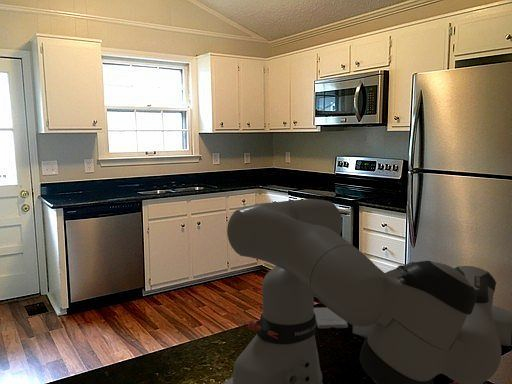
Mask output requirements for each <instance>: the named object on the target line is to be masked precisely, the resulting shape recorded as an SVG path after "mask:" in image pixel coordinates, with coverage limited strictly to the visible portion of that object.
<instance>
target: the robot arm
mask: <svg viewBox="0 0 512 384" xmlns="http://www.w3.org/2000/svg"><path fill="white" fill-rule="evenodd" d="M342 230H343V218H342V215H341V211H340V210H339V208H338V207H337V205H335V203H333V202H332V201H329V200H324V199H315V198H303V199H293V200H284V201H283V200H282V201H274V202H263V203H255V204H252V205H249V206H248V205H247V206H244V207H242V208H239V209H237V210H236V209H235V211H234V212H233V213H232V214H231V216H230V218H229V219H228V223H227V227H226V236H227V239H228V242H229V244H230V247H231V248H232V249H233V250H234V252H235V253H236V254H238V255H239V256H241V257H246V258H252V259H256V260H260V261H264V262H266V263H268V264H271V265H273V266H274V267H273V268H272V269H271V270H269V271H268V272H267V273H266V274H265V276H264V278H263V279H262V282H261V295H262V296H261V299H262V301H261V302H262V303H261V304H262V306H261V307H262V313H261V315H260V317H259V322H256V321H255V320H253V319H252V320H249V321H248V323H247V329H248V330H250V331H253V332H254V333H256V334H255V336H254V337H253V338H252V340H250V342H249V343H248V345H246V347H245V349H244V350H243V351H242V352H241V353H240V354H239V356H238V357H237V358H236V359H235V361H234V365H233V372H232V376H231V377H230V378H228V379H227V380H226V381H224V382H223V383H222V384H324V383H323V373H322V370H321V366H320V358H319V352H318V351H319V350H318V347H317V341H316V337H315V336H316V335H315V334H316V332H317V322H316V315H315V313H314V308H315V307H314V305H315V304H314V303H315V301H314V299H315V297H316V298H317V300H318V301H320V302H321V304H323V305H324V306H325V308H328V309H330V310H331V311H332V312H333V313H335V314H336V315H338V316H339V317H340V318H342V319H343V320H345V321H346V322H347V324H349V325H352V326H353V325H354V326H359V327H366V326H371V325H373V324H374V326H373V328H372V330H371V332H370V335H369V337H368V338H364V341H363V343H362V346H361V349H360V352H359V362H360V364H361V368H362V369H363V371H364V372H365V373H366V374H367V375H368V377H369V378H370V379H372V381H373V382H374V383H376V384H435V383H434V380H435V379H436V376H438V375H440V374H442V375H444V376H446V377H448V378H449V379H451V380H453V381H454V382H456V383H459V384H483V383H485V382H487V381H489V380H490V379H491V378H492V377H493V376H494V375H495V374H496V372H497V371H498V369H499V367H500V365H501V360H502V346H507V347H511V346H512V312H511V311H509V310H507V309H504V308H500V307H498V306H495V305H493V303H494V302H493V301H494V294H495V291H496V285H497V281H496V279H495V278H494V277H493V275H492V274H491V273H490V272H489V271H487V270H485V269H483V268H481V267H477V266H472V265H460V266H456V267H452V266H450V265H447V264H445V263H441V262H436V261H435V262H434V261H431V260H422V261H421V260H420V261H416V262H415V261H414V262H415V263H413V264H410V265H408V266H407V267H404V266H403V265H398V266H397V267H396V268H397V270H398V271H399V272H400V273H401V274H402V275H403V276H400V277H397V278H395V277H392V276H390V275H388V274H386V272H385V271H383V270H382V269H380V268H379V267H378V266H377V265H376V264H375V263H374V262H373V261H372V260H371V259H370V258H369V257H368V256H367V255H365V254H364V253H363V252H362V251H361V250H360V249H358V248H357V247H355V246H354V245H353V244H352V243H350V242H349V241H348V240H347V239H345V237H343V236H341V234H342Z"/></svg>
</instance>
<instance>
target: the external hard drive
mask: <svg viewBox="0 0 512 384" xmlns="http://www.w3.org/2000/svg"><path fill="white" fill-rule="evenodd" d="M314 313H315V315H316V327H317V328H318V329H334V328H335V329H348V328H349V325H348V324H349V323H348V322H347V321H345V320H343V319H342V318H340V317H339V316H338V315H336V314H335V313H333V312H332V311H331V310H330V309H328V308H327V307H314Z"/></svg>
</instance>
